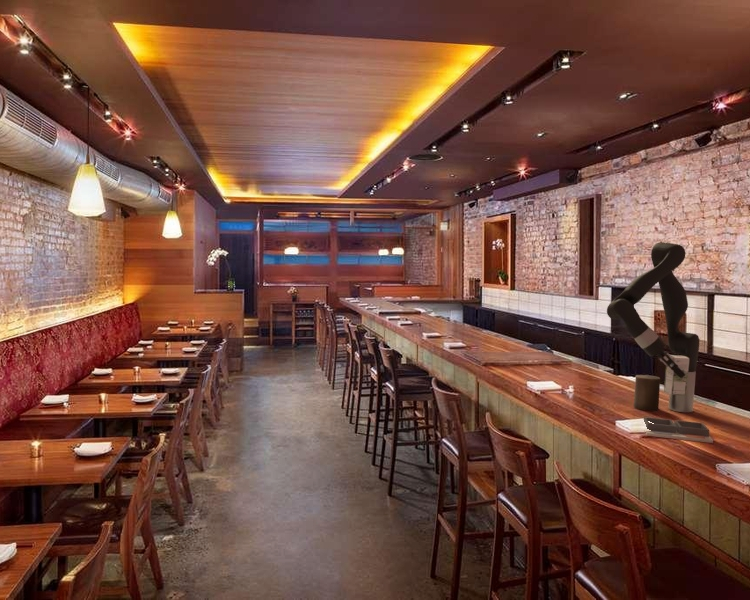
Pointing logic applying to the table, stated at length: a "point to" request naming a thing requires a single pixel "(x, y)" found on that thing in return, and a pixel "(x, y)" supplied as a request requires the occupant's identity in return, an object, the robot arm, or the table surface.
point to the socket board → (677, 429)
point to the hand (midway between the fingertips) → (681, 374)
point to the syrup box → (672, 380)
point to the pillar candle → (647, 392)
